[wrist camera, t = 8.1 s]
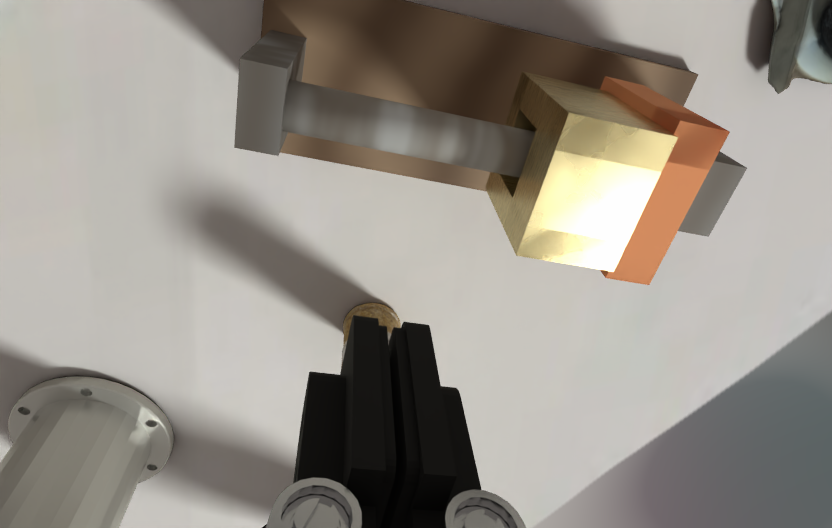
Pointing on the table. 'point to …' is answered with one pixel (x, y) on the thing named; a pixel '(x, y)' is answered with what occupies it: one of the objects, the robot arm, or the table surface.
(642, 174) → the sleeve
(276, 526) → the robot arm
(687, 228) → the machine model on base
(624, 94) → the orange rectangular slab
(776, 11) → the avocado toast plate
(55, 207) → the table surface
